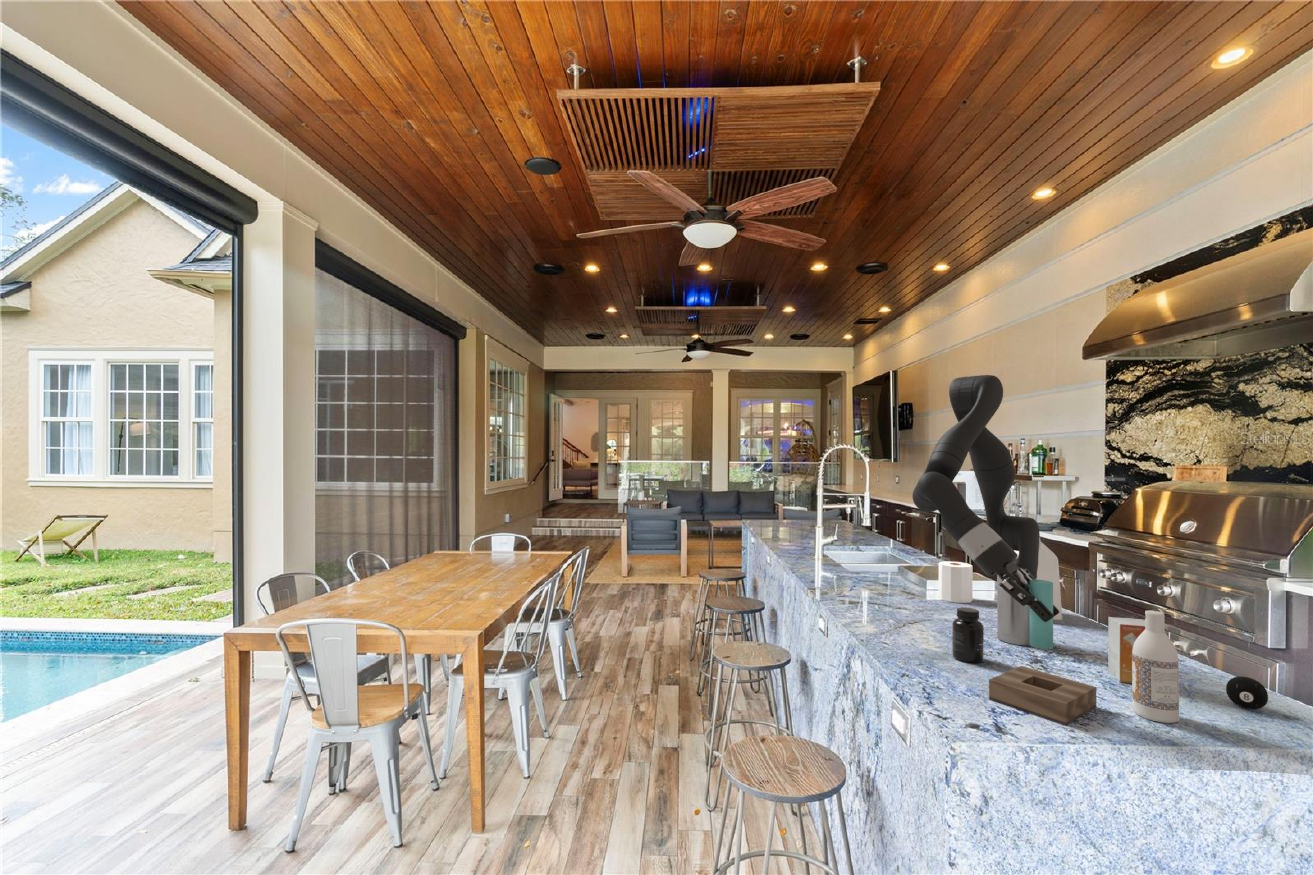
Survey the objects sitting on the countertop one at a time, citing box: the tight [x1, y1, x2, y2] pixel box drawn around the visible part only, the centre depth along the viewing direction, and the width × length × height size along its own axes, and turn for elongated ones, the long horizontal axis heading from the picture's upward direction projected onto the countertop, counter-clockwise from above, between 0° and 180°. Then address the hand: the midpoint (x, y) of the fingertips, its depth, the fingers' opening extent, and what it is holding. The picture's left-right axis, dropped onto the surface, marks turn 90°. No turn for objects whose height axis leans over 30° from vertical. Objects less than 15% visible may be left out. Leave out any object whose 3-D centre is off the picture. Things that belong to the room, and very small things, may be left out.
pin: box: [1029, 580, 1054, 650], centre depth 122 cm, size 4×4×13 cm
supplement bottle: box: [951, 607, 985, 664], centre depth 147 cm, size 7×7×12 cm
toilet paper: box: [938, 560, 974, 604], centre depth 205 cm, size 10×10×12 cm
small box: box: [1107, 616, 1145, 684], centre depth 134 cm, size 8×6×13 cm
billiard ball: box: [1225, 676, 1269, 710], centre depth 120 cm, size 6×6×6 cm
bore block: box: [988, 665, 1097, 726], centre depth 122 cm, size 14×14×4 cm
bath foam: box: [1131, 610, 1180, 724], centre depth 116 cm, size 7×7×20 cm
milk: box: [1015, 536, 1063, 621], centre depth 187 cm, size 12×12×26 cm
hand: (1052, 617), depth 120 cm, fingers closed on pin, 4 cm apart
